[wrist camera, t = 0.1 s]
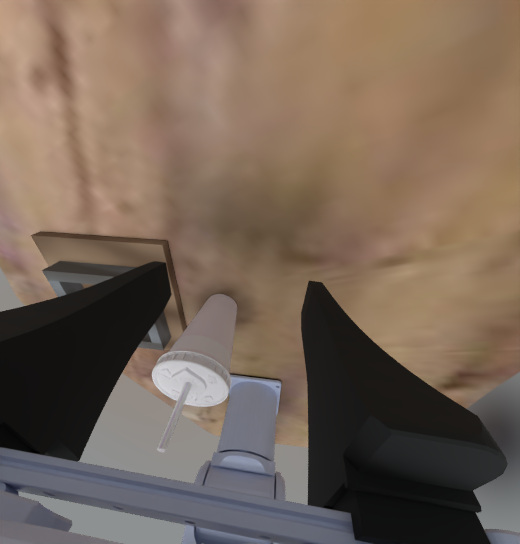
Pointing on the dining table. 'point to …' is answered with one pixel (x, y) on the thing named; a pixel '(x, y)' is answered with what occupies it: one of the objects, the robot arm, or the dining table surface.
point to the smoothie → (198, 361)
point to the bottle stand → (111, 272)
